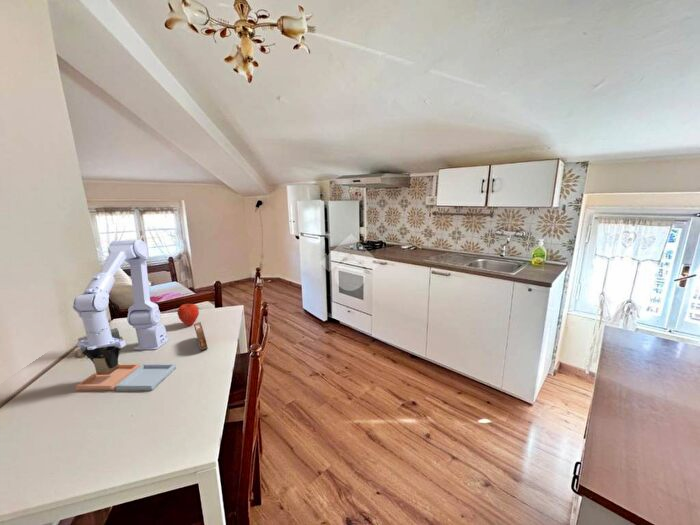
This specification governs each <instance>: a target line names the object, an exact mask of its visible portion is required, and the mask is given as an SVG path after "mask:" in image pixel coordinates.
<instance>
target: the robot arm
mask: <svg viewBox="0 0 700 525" xmlns="http://www.w3.org/2000/svg"><path fill="white" fill-rule="evenodd" d="M107 253H108V256H107V259H106V260H105V263H104V265H103V268H102V269H101V271H100V272H99V273H96V274H94V275H93V276H92V279H91V280H90V282H89V283H88V285H86V286H87V287H86V288H85V290H84V291H83V293H80V294H78V296H77V297H75V299H74V300H73V306H72V308H73V309H72V310H74V311H75V312H76V313H77V314H78V317H79V318H81V320H82V323H83V327H84V331H85V334H86V335H85V336H87V339H88V340H82V341H80V342H78V341H77V343H76V345H77V349H80V348H83V347H86V350H85V351H83V354H84V355H86V356H85V357H87V358H88V359H89V360H90V361H91V362H92V363H93V364H94V362H93V358H94V357H96V356H98V355H99V354H100V353H102V354H103V355H104V356H105V357H106V359H107V361H108V364H109V367H110V368H114V367H115V366H117V365H118V364H119V355H120V352H121V349H122V348H124V347H126V346H127V343H126V340H125V339H123V340H121V339H117V338H113V337H112V334H111V326H110V324H109V319H108V315H107V311H106V309H107V307H108V306H109V302H110V300H109V298H110V292H111V290H112V288H113V286H114V285H115V282H116V279H115V277H114V276H115V275H116V273H117V272H118V270H119V268H120V267H121V266H122V265H123V263H124V262H126V263H128V264H129V267H130V268H129V269H130V276H131V287H132V295H133V296H132V297H133V304H132V305H131V306H129V308H128V309H127V310H128V311H127V312H128V313H127V317H126V319H127V323H128V325H129V326H132V328H133V329H135V332H136V333H135V334H136V337H137V343H138V345H137V346H135V347H133V350H138V351H139V350H140V351H141V350H147V351H148V350H152V351H153V350H157V349H159V348H160V347H161V346H163V345H164V344H166V343H167V342H168V341H170V339H169V338H168V334H167V329H166V326H165V325H163V324H160V323H159V322H160V320H161V316H162V314H161V311H160V309H159V308H160V307H159V305H158V304H157V303H155V302H153V301H151V295H150V285H149V276H148V266H147V260H148V259H149V258H148V257H149V256H148V245H147V244H146V243H145V242H144V241H143V240H142V239H129V240H127V239H126V240H125V239H124V240H117V239H116V240H112V241H111V242H110V243H109V245H108V247H107ZM104 347H107V349H105V350H103V348H104Z"/></svg>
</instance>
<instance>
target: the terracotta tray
mask: <svg viewBox="0 0 700 525" xmlns="http://www.w3.org/2000/svg"><path fill="white" fill-rule="evenodd" d="M118 364H119V368H118V369H116V370H115V371H114V372H112V373H111V374H109V375H97V373H96V372H94V373H92V374H91V375H89V376H88V377H86V378H85V379H84V380H82V381H80V382H79V383H78V384H76V385H75V388H76V391H79V392H80V391H84V392H88V391H89V392H91V391H98V392H99V391H101V392H102V391H103V392H107V391H109V392H111V390H113V391H114V390H116V387H115V386H116V385H117V384H118V383H120V382H121V381H122V380H123V379H125V378H126V377H127V376H129V375H130V374H131V373H132V372H134V371H135V370H136V369H138V368H139V367H140V366H141V364H140V363H118Z"/></svg>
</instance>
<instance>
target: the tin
mask: <svg viewBox="0 0 700 525" xmlns="http://www.w3.org/2000/svg"><path fill="white" fill-rule="evenodd" d="M193 325H194V327H193V328H194V329H195V334H196V338H197V341H198V346H199V349H200V350H201V351H203V350H206V349H208V344H207V340H206V335H205V332H204V328H203V326H202V322H201V321H199V322H197V323H194V324H193Z"/></svg>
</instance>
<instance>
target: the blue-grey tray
mask: <svg viewBox="0 0 700 525" xmlns="http://www.w3.org/2000/svg"><path fill="white" fill-rule="evenodd" d="M176 369H177V365H176V363H143V364H141V365H140V367H139V368H138V369H136V370H135V371H134V372H132V373H131V374H130V375H129V376H127V377H126V378H125V379H123V380H122V381H121V382H120V383H118V384H117V385H116V386H115V387H116V388H115V390H116V391H117V390H129V391H130V392H133V391H135V392H136V391H137V392H139V391H140V392H143V391H144V392H145V391H146V392H153V391H154V390H155V389H156V388H157V387H158V386H159V385H160V384H162V382H164V380H166V379H167V377H169V376H170V375H171V374H172V373H173V372H174V371H175V370H176ZM129 391H128V392H129Z"/></svg>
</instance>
